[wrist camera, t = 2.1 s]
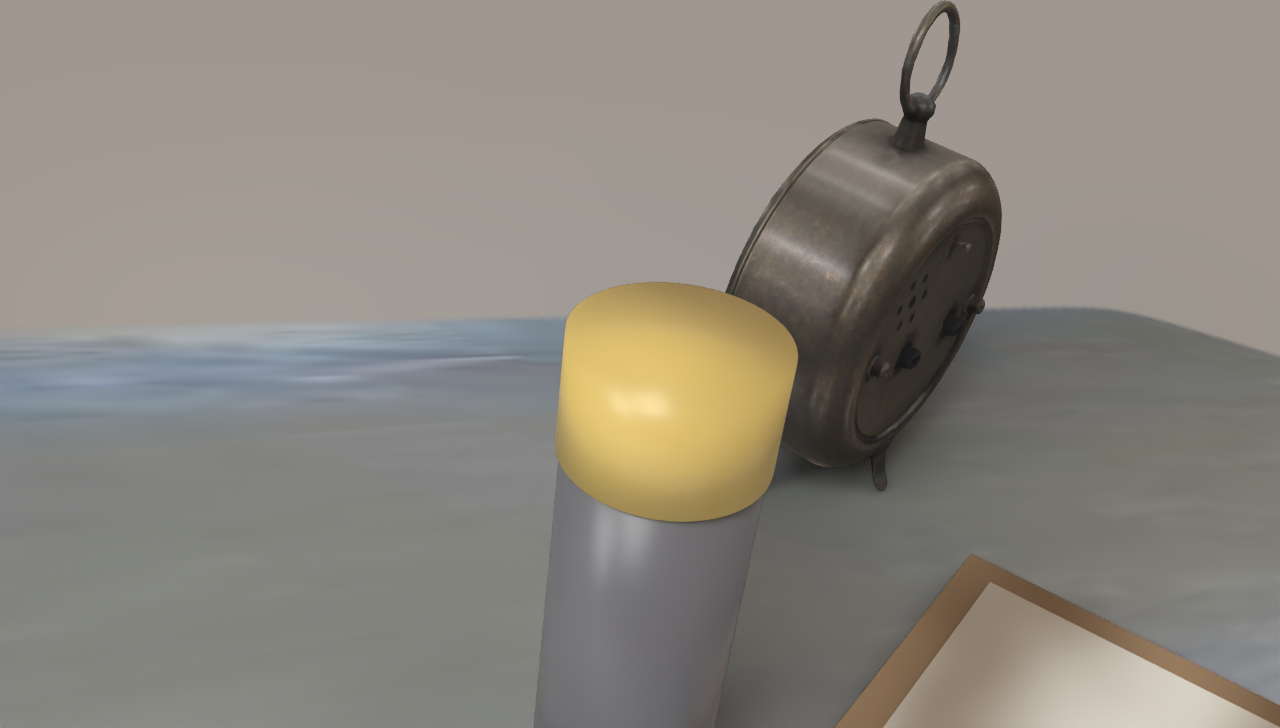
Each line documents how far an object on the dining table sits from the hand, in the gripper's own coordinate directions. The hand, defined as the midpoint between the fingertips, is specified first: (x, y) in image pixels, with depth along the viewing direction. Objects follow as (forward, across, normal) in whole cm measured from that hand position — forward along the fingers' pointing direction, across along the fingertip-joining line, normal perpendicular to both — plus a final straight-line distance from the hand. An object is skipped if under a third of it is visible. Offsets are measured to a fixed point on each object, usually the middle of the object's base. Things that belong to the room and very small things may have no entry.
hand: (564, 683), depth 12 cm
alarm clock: (+27, +4, -15) cm, 31 cm away
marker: (+10, 0, -15) cm, 18 cm away
